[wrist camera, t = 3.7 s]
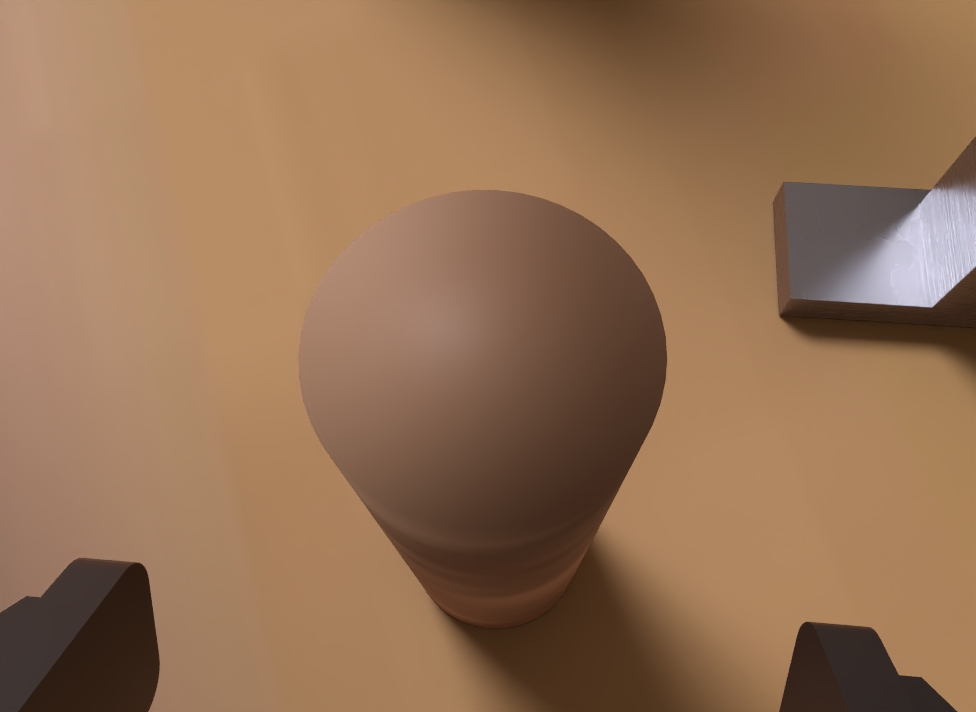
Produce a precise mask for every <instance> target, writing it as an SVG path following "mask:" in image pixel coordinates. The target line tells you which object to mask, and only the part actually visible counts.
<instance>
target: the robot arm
mask: <svg viewBox="0 0 976 712" xmlns="http://www.w3.org/2000/svg"><path fill="white" fill-rule="evenodd" d="M159 666H160V661H159V652H158V644H157V637H156V629H155V622H154V615H153V607H152V600H151V593H150V585H149V578H148V574H147V571H146V569H145V567H144V566H143V565H142V564H141V563H136V562H124V561H112V560H100V559H89V558H79V559H76V560H74V561H73V562H72V563H70V564H69V565H68V566H67V568H66V569H65V570H64V571H63V572H62V573H61V575H60V576H59V577H58V578H57V579H56V580H55V581H54V583H53V584H52V585H51V586H50V587H49V588H48V590H47V591H46V592H45V593H44V594H43V595H42V596H41V598H40V597H29V596H26V597H25V598H23V599H22V600H20V601H18V602H17V603H15V604H14V605H12V606H10V607H9V608H7V609H6V610H4V611H3V612H1V613H0V712H148V711H149V709H150V706H151V704H152V701H153V698H154V695H155V692H156V688H157V683H158V677H159ZM779 712H957V711H956V710H955V709H954V708H953V707H952V706H951V705H950V704H949V703H948V702H947V701H946V700H945V699H943V698H942V697H941V696H940V695H939V694H938V693H937V692H936V691H935V690H934V689H933V688H932V687H931V686H930V685H929V684H928V683H927V682H926V681H925V680H924V679H923V678H922V677H912V676H901V675H898V673H897V671H896V669H895V667H894V665H893V663H892V661H891V659H890V657H889V655H888V653H887V651H886V649H885V647H884V645H883V643H882V641H881V639H880V638H879V636H878V634H877V633H876V632H875V630H873V629H872V628H870V627H862V626H851V625H839V624H827V623H816V622H805V623H803V624H802V626H801V627H800V629H799V632H798V635H797V639H796V643H795V647H794V651H793V656H792V660H791V664H790V668H789V673H788V677H787V681H786V685H785V690H784V694H783V698H782V702H781V707H780V711H779Z"/></svg>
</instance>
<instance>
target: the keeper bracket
mask: <svg viewBox="0 0 976 712" xmlns="http://www.w3.org/2000/svg"><path fill="white" fill-rule="evenodd" d="M773 211H774V230H775V249H776V268H777V287H778V306H779V315H784V316H800V317H816V318H831V319H847V320H862V321H878V322H893V323H909V324H924V325H940V326H955V327H971V328H976V137H975V138H974V139H973V140H972V141H971V143H970V144H969V145H968V146H967V147H966V149H965V150H964V151H963V152H962V154H961V155H960V156H959V157H958V158H957V160H956V161H955V162H954V163H953V164H952V166H951V167H950V168H949V169H948V171H947V172H946V173H945V174H944V175H943V177H942V178H941V179H940V180H939V181H938V183H937V184H936V185H935V186H934V187H933V189H932V190H922V189H904V188H886V187H869V186H851V185H833V184H816V183H798V182H783V184H782V186H781V188H780V190H779V192H778V194H777V196H776V197H775V199H774V201H773Z"/></svg>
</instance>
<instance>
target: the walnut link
mask: <svg viewBox="0 0 976 712" xmlns="http://www.w3.org/2000/svg"><path fill="white" fill-rule="evenodd" d="M666 366H667V351H666V336H665V332H664V327H663V322H662V318H661V314H660V311H659V308H658V306H657V303H656V300H655V297H654V295H653V293H652V291H651V289H650V287H649V285H648V283H647V281H646V279H645V277H644V275H643V274H642V272H641V271H640V270H639V268H638V267H637V265H636V264H635V263H634V261H633V260H632V258H631V257H630V256H629V255H628V254H627V253H626V252H625V251H624V249H623V248H622V247H621V246H620V245H619V244H618V243H617V242H616V241H615V240H614V239H613V238H612V237H610V236H609V235H608V234H607V233H606V232H604V231H603V230H602V229H601V228H600V227H598V226H597V225H595V224H594V223H592V222H591V221H589V220H588V219H586V218H584V217H583V216H581V215H580V214H578V213H576V212H574V211H571V210H569V209H567V208H565V207H563V206H561V205H559V204H556V203H553V202H550V201H547V200H545V199H542V198H538V197H534V196H530V195H525V194H521V193H515V192H506V191H498V190H473V191H463V192H454V193H449V194H444V195H440V196H435V197H431V198H428V199H425V200H422V201H419V202H416V203H413V204H411V205H408V206H406V207H404V208H402V209H400V210H398V211H396V212H394V213H391V214H389V215H388V216H386V217H385V218H383V219H382V220H380V221H378V222H377V223H375V224H374V225H372V226H371V227H369V228H368V229H367V230H366V231H364V232H363V233H362V234H361V235H359V236H358V237H357V238H356V239H355V240H353V241H352V242H351V244H350V245H349V246H348V247H347V248H346V249H345V250H344V251H343V252H342V253H341V254H340V255H339V256H338V257H337V259H336V260H335V261H334V263H333V264H332V265H331V267H330V268H329V269H328V271H327V272H326V273H325V275H324V277H323V279H322V280H321V282H320V284H319V286H318V287H317V289H316V291H315V293H314V295H313V298H312V300H311V303H310V305H309V308H308V310H307V313H306V317H305V321H304V325H303V329H302V333H301V340H300V349H299V379H300V384H301V390H302V396H303V401H304V404H305V407H306V410H307V413H308V416H309V419H310V422H311V424H312V426H313V428H314V430H315V432H316V434H317V436H318V438H319V440H320V442H321V444H322V445H323V447H324V448H325V450H326V451H327V453H328V454H329V456H330V457H331V458H332V460H333V461H334V463H335V464H336V466H337V467H338V468H339V470H340V471H341V473H342V474H343V475H344V477H345V478H346V480H347V481H348V482H349V484H350V485H351V487H352V488H353V489H354V491H355V492H356V494H357V495H358V496H359V498H360V499H361V501H362V502H363V503H364V505H365V506H366V507H367V509H368V510H369V512H370V513H371V514H372V516H373V517H374V519H375V520H376V521H377V523H378V524H379V526H380V527H381V528H382V530H383V531H384V533H385V534H386V535H387V537H388V538H389V540H390V541H391V542H392V544H393V545H394V547H395V548H396V549H397V551H398V552H399V554H400V555H401V556H402V558H403V559H404V561H405V562H406V563H407V565H408V566H409V568H410V569H411V570H412V572H413V573H414V575H415V576H416V577H417V579H418V580H419V582H420V583H421V584H422V586H423V587H424V588H425V590H426V591H427V593H428V594H429V595H430V597H431V598H432V599H433V600H434V601H435V602H436V604H437V605H438V606H439V607H441V608H442V609H443V610H444V611H445V612H447V613H448V614H450V615H451V616H453V617H454V618H456V619H458V620H460V621H462V622H464V623H467V624H470V625H473V626H477V627H482V628H489V629H502V628H511V627H515V626H519V625H522V624H525V623H527V622H530V621H532V620H534V619H536V618H537V617H539V616H541V615H543V614H544V613H545V612H546V611H548V610H549V609H550V608H551V607H552V606H553V605H554V604H555V603H556V602H557V601H558V600H559V599H560V598H561V596H562V595H563V594H564V592H565V591H566V589H567V588H568V586H569V584H570V582H571V580H572V578H573V577H574V575H575V573H576V571H577V569H578V567H579V565H580V563H581V561H582V559H583V557H584V555H585V554H586V552H587V550H588V548H589V546H590V544H591V542H592V540H593V538H594V536H595V534H596V532H597V530H598V529H599V527H600V525H601V523H602V521H603V519H604V517H605V515H606V513H607V511H608V509H609V507H610V506H611V504H612V502H613V500H614V498H615V496H616V494H617V492H618V490H619V488H620V486H621V484H622V482H623V481H624V479H625V477H626V475H627V473H628V471H629V469H630V467H631V465H632V463H633V461H634V459H635V458H636V456H637V454H638V452H639V450H640V448H641V446H642V444H643V442H644V440H645V438H646V436H647V434H648V433H649V431H650V429H651V427H652V425H653V422H654V419H655V417H656V414H657V411H658V409H659V406H660V403H661V399H662V394H663V390H664V385H665V379H666Z"/></svg>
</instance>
